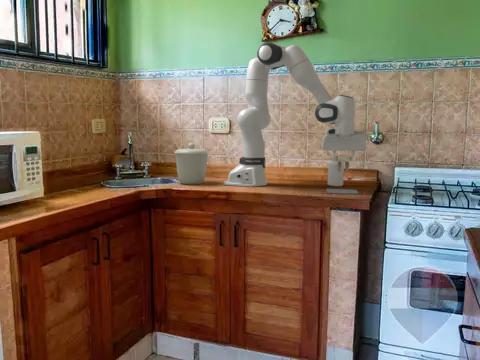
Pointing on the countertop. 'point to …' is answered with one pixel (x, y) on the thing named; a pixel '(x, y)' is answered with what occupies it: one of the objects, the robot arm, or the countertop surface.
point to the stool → (343, 159)
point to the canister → (191, 164)
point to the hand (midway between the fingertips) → (343, 160)
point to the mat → (342, 191)
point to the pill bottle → (335, 173)
